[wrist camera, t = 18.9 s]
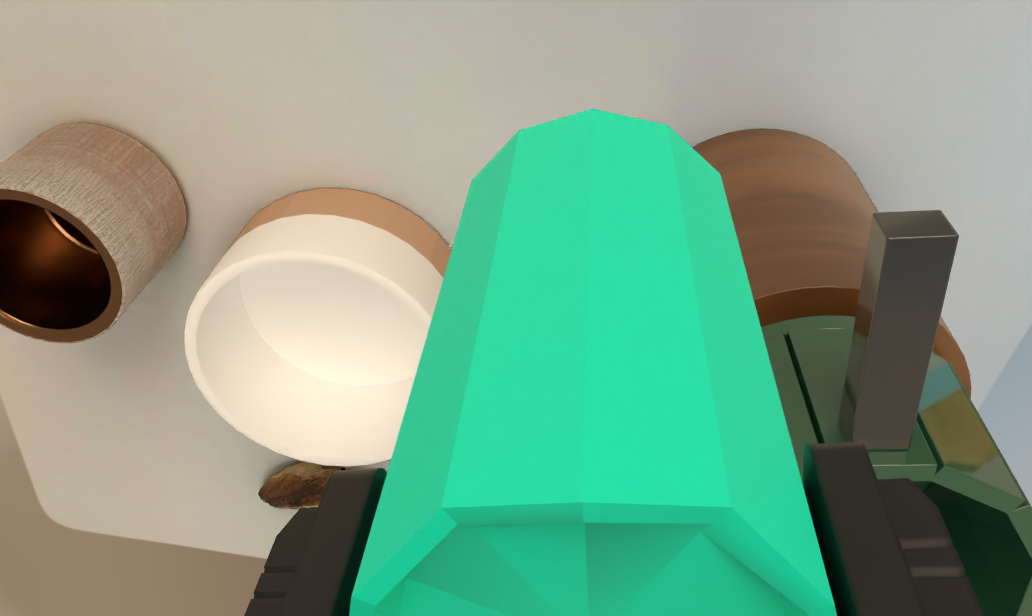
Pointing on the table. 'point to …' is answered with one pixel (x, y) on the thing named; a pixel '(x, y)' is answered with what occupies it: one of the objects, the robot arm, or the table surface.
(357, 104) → the table surface
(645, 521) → the candle
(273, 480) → the oyster shell
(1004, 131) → the table surface
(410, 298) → the bowl
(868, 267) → the pot
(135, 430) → the table surface
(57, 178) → the planter
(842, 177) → the stand
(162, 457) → the table surface
